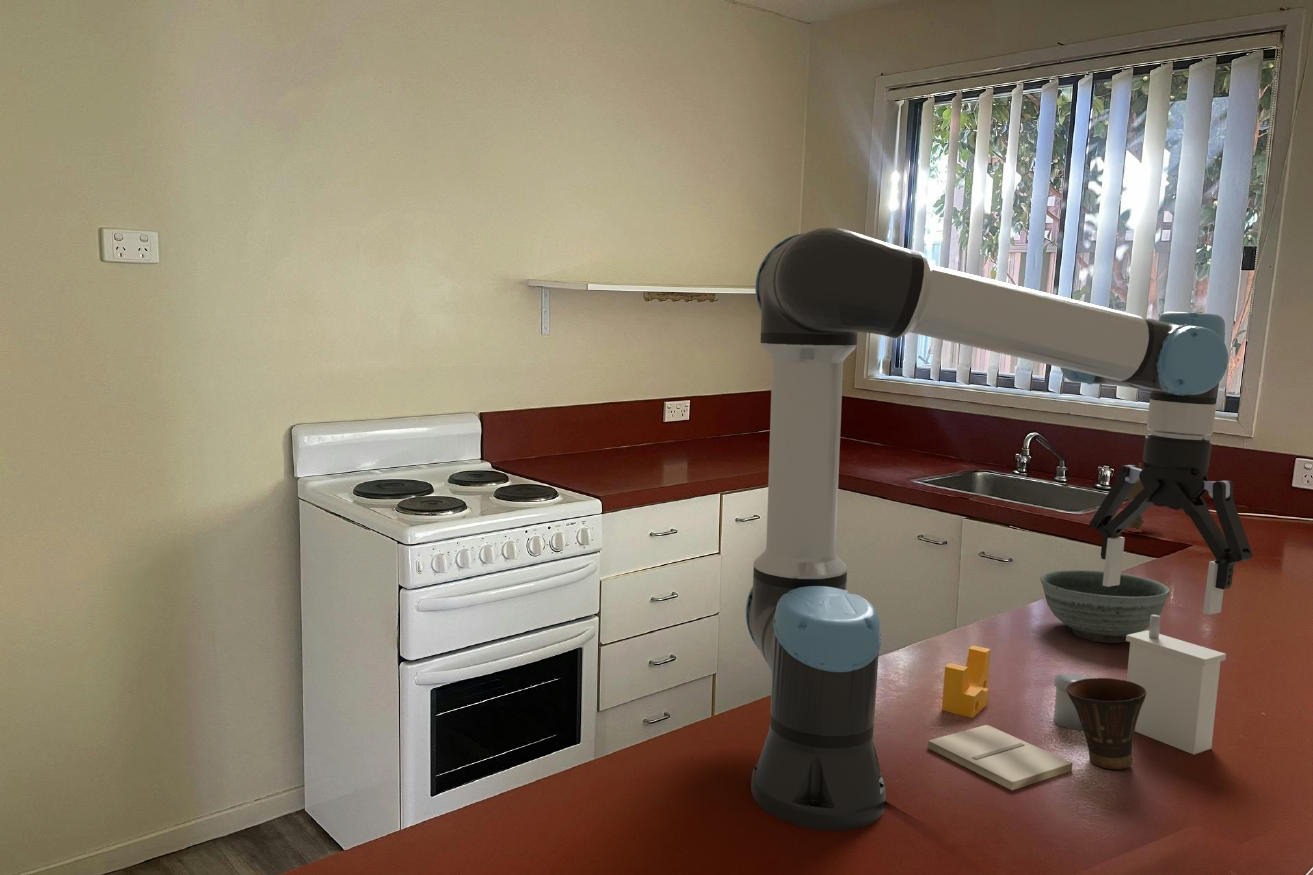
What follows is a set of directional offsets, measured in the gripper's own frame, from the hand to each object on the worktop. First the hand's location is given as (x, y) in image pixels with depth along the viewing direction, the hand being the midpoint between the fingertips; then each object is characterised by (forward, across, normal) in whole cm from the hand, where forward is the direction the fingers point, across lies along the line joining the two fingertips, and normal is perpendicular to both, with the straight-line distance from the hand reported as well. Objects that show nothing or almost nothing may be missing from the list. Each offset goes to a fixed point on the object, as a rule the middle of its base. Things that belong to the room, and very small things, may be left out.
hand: (1159, 598), depth 131 cm
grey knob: (+20, +8, +2) cm, 21 cm away
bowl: (+19, +31, -37) cm, 52 cm away
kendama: (+18, +77, -122) cm, 145 cm away
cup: (+20, -1, +11) cm, 22 cm away
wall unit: (+19, -1, -4) cm, 20 cm away
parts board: (+20, +6, +21) cm, 30 cm away
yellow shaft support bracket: (+20, +21, +9) cm, 30 cm away
